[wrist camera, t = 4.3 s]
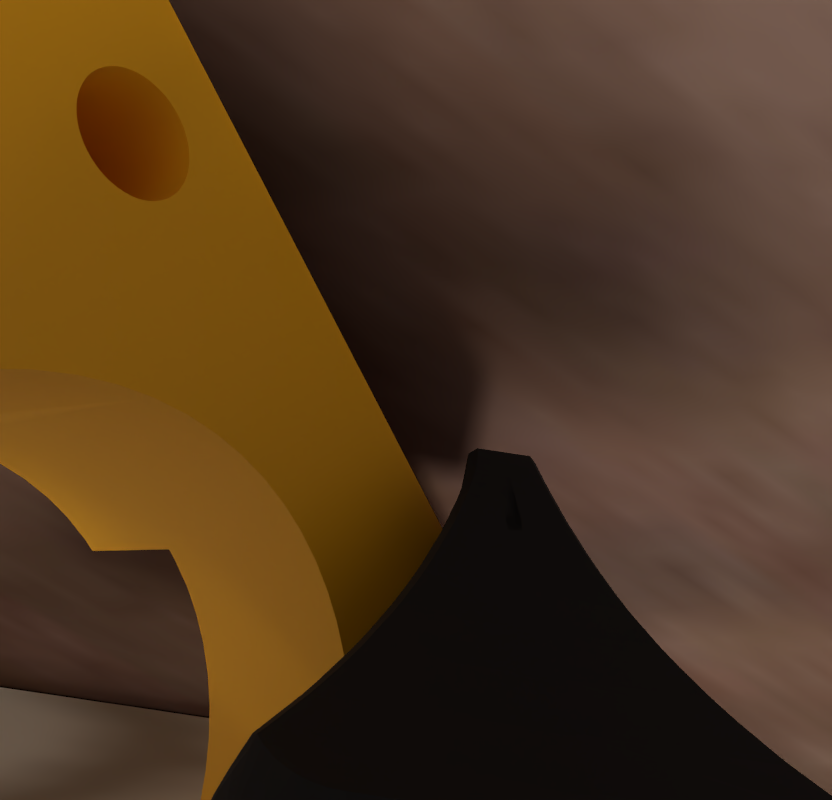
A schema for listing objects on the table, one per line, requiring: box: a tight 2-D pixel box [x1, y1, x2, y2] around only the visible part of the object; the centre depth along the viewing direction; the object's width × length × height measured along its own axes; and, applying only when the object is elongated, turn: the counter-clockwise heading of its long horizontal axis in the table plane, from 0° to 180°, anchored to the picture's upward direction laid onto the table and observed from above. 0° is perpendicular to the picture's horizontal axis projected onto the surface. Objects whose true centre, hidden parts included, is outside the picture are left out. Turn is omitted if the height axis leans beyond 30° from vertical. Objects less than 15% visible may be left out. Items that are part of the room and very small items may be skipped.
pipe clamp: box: [0, 0, 442, 800], centre depth 10 cm, size 12×4×6 cm, turn 23°
